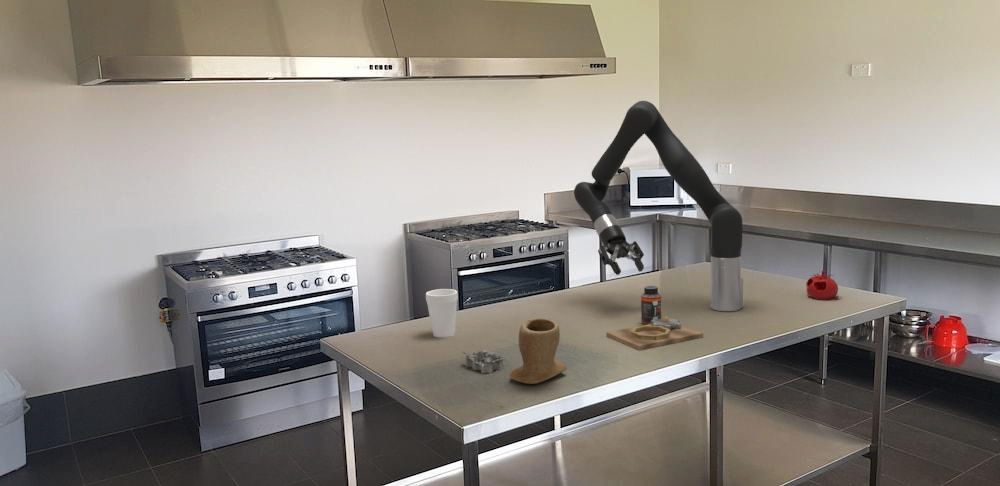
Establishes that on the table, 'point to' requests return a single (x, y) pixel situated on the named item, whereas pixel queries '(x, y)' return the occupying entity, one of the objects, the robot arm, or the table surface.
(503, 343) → the table surface
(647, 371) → the table surface
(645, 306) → the supplement bottle
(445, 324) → the foam cup
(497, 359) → the egg carton
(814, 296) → the pomegranate
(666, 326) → the board
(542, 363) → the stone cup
